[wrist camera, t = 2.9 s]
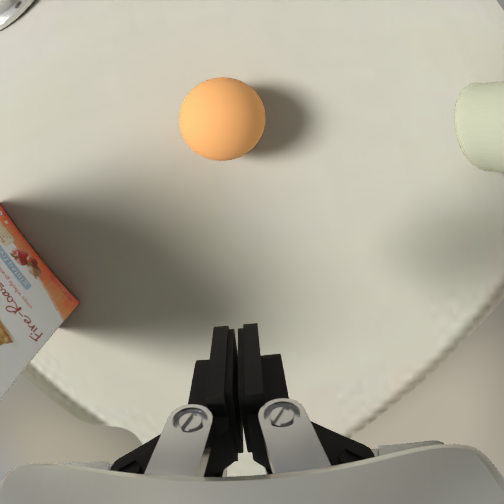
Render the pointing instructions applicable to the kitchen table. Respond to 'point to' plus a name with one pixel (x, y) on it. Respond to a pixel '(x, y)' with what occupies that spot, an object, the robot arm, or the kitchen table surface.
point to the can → (481, 125)
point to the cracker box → (26, 303)
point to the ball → (222, 119)
